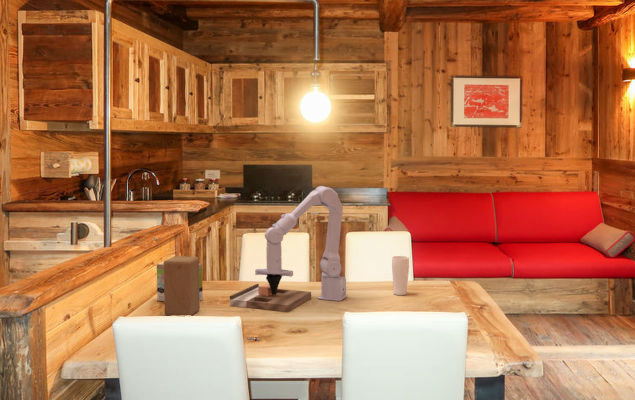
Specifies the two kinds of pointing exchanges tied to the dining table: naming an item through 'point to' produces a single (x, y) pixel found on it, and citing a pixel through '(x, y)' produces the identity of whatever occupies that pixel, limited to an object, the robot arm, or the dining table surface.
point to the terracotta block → (264, 290)
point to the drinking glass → (400, 274)
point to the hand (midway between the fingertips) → (274, 293)
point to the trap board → (269, 299)
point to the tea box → (161, 282)
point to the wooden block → (181, 285)
